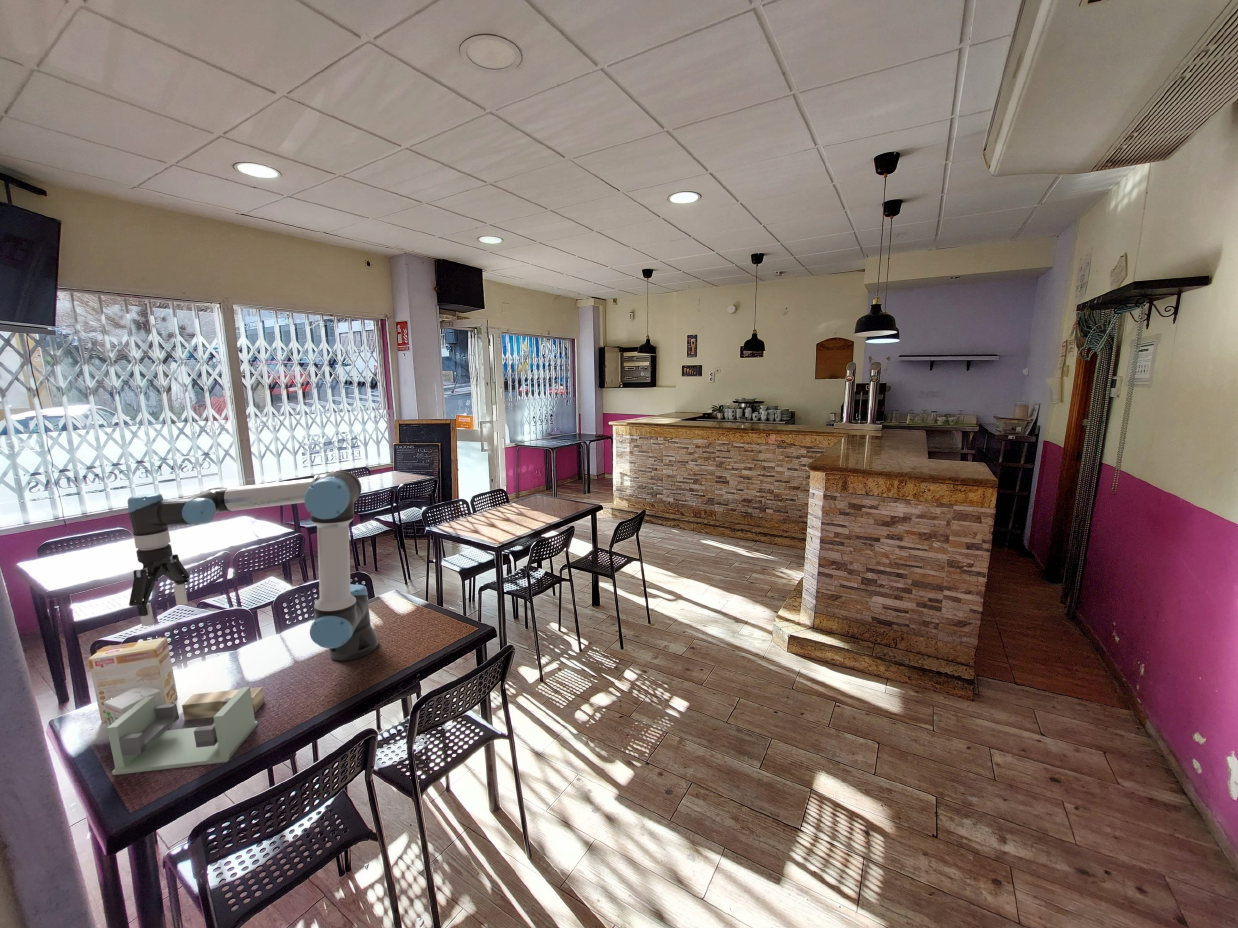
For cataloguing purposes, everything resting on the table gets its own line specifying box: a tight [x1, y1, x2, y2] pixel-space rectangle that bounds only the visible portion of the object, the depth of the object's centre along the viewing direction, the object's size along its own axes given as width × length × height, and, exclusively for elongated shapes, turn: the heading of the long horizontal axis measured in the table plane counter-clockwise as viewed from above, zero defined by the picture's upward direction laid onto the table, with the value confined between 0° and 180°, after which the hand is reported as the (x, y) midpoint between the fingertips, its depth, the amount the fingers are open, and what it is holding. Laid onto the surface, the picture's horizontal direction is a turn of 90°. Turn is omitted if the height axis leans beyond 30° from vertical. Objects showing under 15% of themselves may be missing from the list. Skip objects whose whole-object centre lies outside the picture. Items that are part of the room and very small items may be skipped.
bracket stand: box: [106, 686, 259, 776], centre depth 128 cm, size 25×14×12 cm, turn 99°
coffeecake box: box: [87, 637, 178, 723], centre depth 144 cm, size 15×7×20 cm, turn 110°
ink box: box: [104, 685, 163, 727], centre depth 134 cm, size 9×8×12 cm
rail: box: [181, 686, 266, 721], centre depth 144 cm, size 18×5×5 cm, turn 100°
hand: (166, 614), depth 150 cm, fingers open, 13 cm apart
